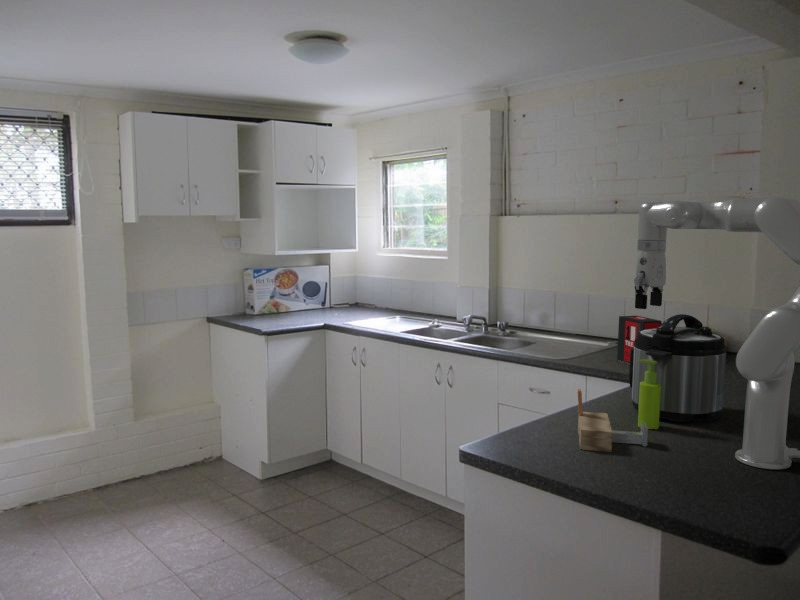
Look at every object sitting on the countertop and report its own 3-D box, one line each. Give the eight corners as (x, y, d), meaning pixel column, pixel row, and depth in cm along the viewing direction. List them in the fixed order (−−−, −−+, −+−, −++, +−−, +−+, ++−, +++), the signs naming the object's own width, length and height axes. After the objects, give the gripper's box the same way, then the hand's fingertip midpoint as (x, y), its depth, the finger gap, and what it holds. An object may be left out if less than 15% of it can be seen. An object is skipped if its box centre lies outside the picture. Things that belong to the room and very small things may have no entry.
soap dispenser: (638, 421, 203) (641, 357, 201) (661, 426, 199) (664, 360, 196) (631, 426, 199) (634, 360, 196) (654, 431, 194) (658, 363, 192)
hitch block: (606, 431, 194) (607, 413, 193) (611, 451, 176) (612, 432, 176) (577, 429, 195) (578, 411, 195) (580, 449, 178) (580, 429, 177)
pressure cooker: (691, 399, 230) (696, 308, 226) (746, 423, 202) (753, 320, 199) (610, 402, 225) (613, 309, 221) (655, 428, 197) (660, 321, 194)
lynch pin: (644, 440, 185) (645, 422, 185) (647, 446, 180) (648, 427, 180) (584, 435, 189) (584, 417, 188) (584, 441, 184) (585, 423, 183)
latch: (581, 388, 192) (577, 388, 193) (581, 391, 190) (577, 391, 190) (582, 412, 193) (578, 412, 193) (582, 415, 190) (579, 415, 191)
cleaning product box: (659, 368, 279) (661, 320, 277) (641, 369, 277) (643, 321, 275) (634, 360, 295) (636, 315, 293) (617, 361, 292) (619, 316, 290)
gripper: (651, 247, 178) (647, 311, 180) (677, 246, 191) (673, 305, 193) (624, 246, 184) (621, 308, 186) (651, 245, 196) (648, 303, 198)
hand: (648, 307), depth 189 cm, fingers open, 9 cm apart
